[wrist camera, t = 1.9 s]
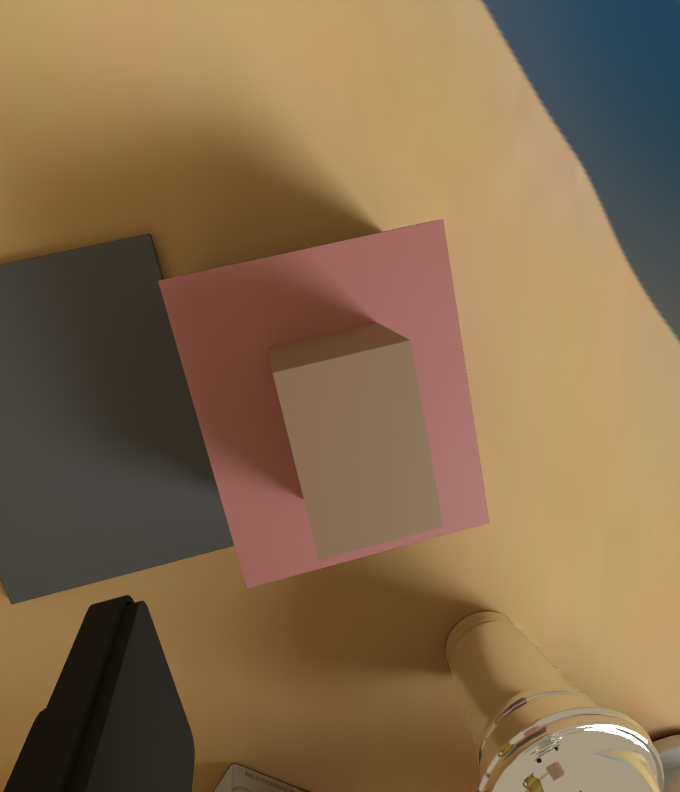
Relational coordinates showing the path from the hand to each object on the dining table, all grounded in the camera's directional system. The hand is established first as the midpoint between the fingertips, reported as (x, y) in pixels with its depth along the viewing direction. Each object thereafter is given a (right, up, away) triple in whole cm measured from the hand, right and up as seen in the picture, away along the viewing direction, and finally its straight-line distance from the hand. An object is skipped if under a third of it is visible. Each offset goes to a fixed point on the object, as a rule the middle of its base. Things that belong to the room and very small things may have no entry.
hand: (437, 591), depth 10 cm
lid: (-2, +3, +13) cm, 13 cm away
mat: (-14, +2, +18) cm, 23 cm away
